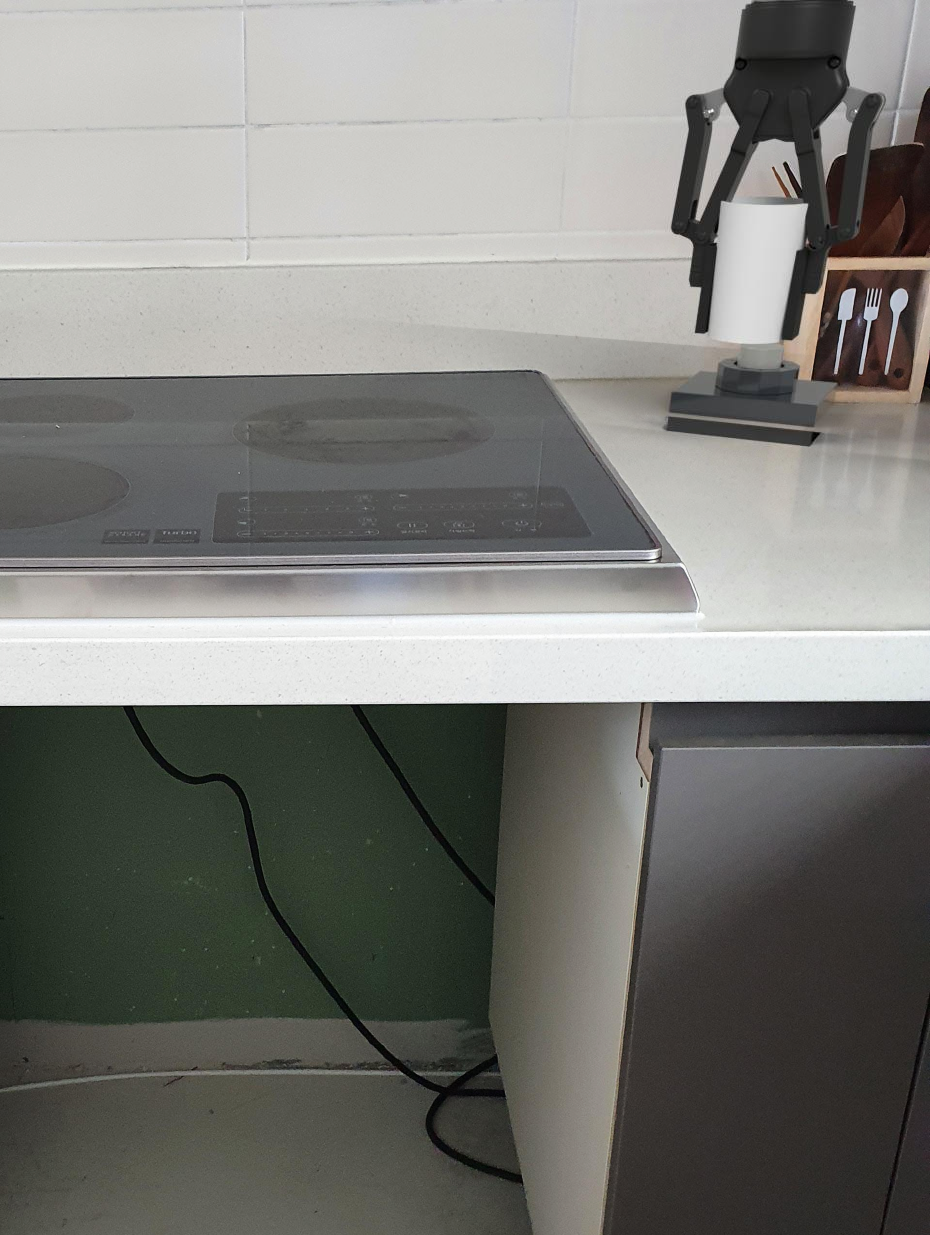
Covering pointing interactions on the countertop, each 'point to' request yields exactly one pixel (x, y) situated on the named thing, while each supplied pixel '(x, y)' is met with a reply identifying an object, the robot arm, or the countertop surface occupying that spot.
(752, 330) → the white cup
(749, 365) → the pale grey short cylinder
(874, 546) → the countertop surface
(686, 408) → the push button base
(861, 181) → the robot arm
